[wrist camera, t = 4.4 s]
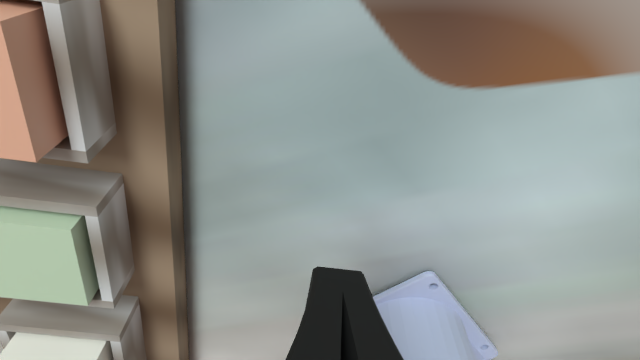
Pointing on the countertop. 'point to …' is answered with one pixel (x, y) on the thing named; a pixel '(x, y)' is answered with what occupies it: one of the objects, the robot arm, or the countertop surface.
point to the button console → (113, 178)
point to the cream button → (55, 348)
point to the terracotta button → (28, 84)
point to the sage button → (46, 257)
